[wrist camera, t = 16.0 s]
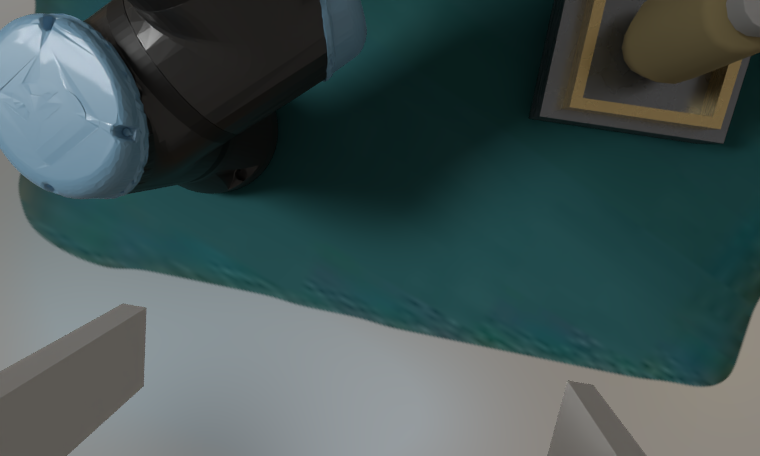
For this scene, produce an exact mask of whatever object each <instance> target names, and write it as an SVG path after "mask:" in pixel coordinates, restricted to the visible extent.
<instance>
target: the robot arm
mask: <svg viewBox="0 0 760 456" xmlns="http://www.w3.org/2000/svg"><path fill="white" fill-rule="evenodd" d="M366 35H367V28H366V21H365V16H364V12H363V8H362V5H361V1H360V0H112V1H111V2H109V3H108V4H107V5H105V6H104V7H103V8H101V9H100V10H99V11H97V12H96V13H95V14H93V15H92V16H91V17H89V18H88V19H86V20H85V21H81V20H79V19H77V18H75V17H73V16H70V15H66V14H42V13H38V14H30V15H26V16H23V17H20V18H17V19H15V20H13V21H11V22H10V23H8V24H7V25H6V26H5V27H4V28H2V29H1V30H0V149H1V150H2V152H3V153H4V155H5V156H6V157H7V159H8V160H9V161H10V162H11V164H12V165H13V166H14V167H15V168H16V169H17V170H18V171H19V172H20V173H21V174H22V175H24V176H25V177H26V178H27V179H29V180H30V181H31V182H33V183H34V184H36V185H38V186H39V187H41V188H43V189H45V190H47V191H49V192H54V193H55V194H59V195H62V196H64V197H68V198H75V199H91V198H99V199H103V198H104V199H110V198H112V199H113V198H117V197H119V196H123V195H126V194H130V193H135V192H141V191H146V190H152V189H157V188H162V187H168V186H173V185H179V186H181V187H183V188H186V189H188V190H191V191H195V192H200V193H210V194H214V193H223V192H228V191H232V190H236V189H239V188H241V187H243V186H246V185H247V184H249V183H251V182H252V181H254V180H255V179H256V178H257V177H258V176H259V175H260V174H261V173H262V172H263V171H264V170H265V168H266V167H267V166H268V164H269V162H270V160H271V158H272V156H273V154H274V151H275V148H276V143H277V137H278V123H277V116H276V110H278V109H279V108H281V107H282V106H284V105H285V104H287V103H289V102H290V101H292V100H293V99H295V98H296V97H298V96H299V95H301V94H303V93H304V92H306V91H307V90H309V89H310V88H312V87H313V86H315V85H317V84H318V83H320V82H321V81H323V82H325V81H327V80H329V78H330V77H332V75H333V73H334V72H335V71H337V70H338V69H339V68H341V67H342V66H344V65H345V64H346V63H348V62H349V61H351V60H352V59H353V58H355V57H356V56H357V55H358V54H359V53H360V52H361V50H362V48H363V46H364V43H365V40H366ZM145 331H146V308H145V307H139V306H133V305H128V304H121V305H120V306H118V307H116V308H114V309H112V310H110V311H109V312H107V313H105V314H104V315H102V316H100V317H98V318H96V319H94V320H92V321H91V322H89V323H87V324H85V325H83V326H82V327H80V328H78V329H76V330H74V331H73V332H71V333H69V334H68V335H65V336H64V337H62V338H60V339H58V340H56V341H55V342H53V343H51V344H49V345H47V346H46V347H44V348H42V349H40V350H38V351H37V352H35V353H33V354H31V355H30V356H28V357H26V358H24V359H22V360H20V361H18V362H17V363H15V364H13V365H11V366H9V367H8V368H6V369H4V370H2V371H1V372H0V456H67V455H68V454H69V453H70V452H71V451H72V450H74V449H75V448H76V447H77V446H78V445H79V444H80V443H81V442H82V441H83V440H84V439H86V438H87V437H88V436H89V435H90V434H91V433H92V432H93V431H95V429H97V428H98V427H99V426H100V425H101V424H102V423H103V422H104V421H105V420H107V419H108V418H109V417H110V416H111V415H112V414H113V413H114V412H115V411H117V410H118V409H119V408H120V407H121V406H122V405H123V404H124V403H125V402H127V401H128V400H129V398H131V397H132V396H133V395H134V394H135V393H136V392H138V391H139V390H140V389H141V388H142V387H143V386H144V358H145ZM548 456H646V455H645V453H644V452H643V450H642V449H641V448H640V447H639V445H638V444H637V442H636V441H635V440H634V439H633V437H632V436H631V434H630V433H629V432H628V431H627V429H626V428H625V427H624V425H623V424H622V423H621V421H620V420H619V419H618V417H617V416H616V415H615V413H614V412H613V411H612V409H611V408H610V407H609V405H608V404H607V403H606V401H605V400H604V399H603V397H602V396H601V395H600V393H599V392H598V391H597V390H596V388H595V387H594V386H593V385H590V384H584V383H578V382H572V381H567V384H566V388H565V392H564V396H563V399H562V403H561V407H560V411H559V414H558V418H557V422H556V425H555V430H554V433H553V437H552V441H551V444H550V448H549V452H548Z"/></svg>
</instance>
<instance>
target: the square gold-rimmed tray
mask: <svg viewBox="0 0 760 456" xmlns="http://www.w3.org/2000/svg"><path fill="white" fill-rule="evenodd" d="M646 1H647V0H554V4H553V8H552V13H551V17H550V22H549V27H548V31H547V36H546V41H545V45H544V50H543V54H542V59H541V64H540V68H539V73H538V78H537V82H536V87H535V92H534V96H533V101H532V105H531V110H530V115H529V119H535V120H541V121H548V122H555V123H562V124H568V125H575V126H582V127H589V128H595V129H602V130H609V131H615V132H622V133H629V134H636V135H642V136H649V137H656V138H663V139H669V140H676V141H683V142H690V143H696V144H699V143H724V140H725V137H726V134H727V131H728V127H729V124H730V121H731V118H732V115H733V111H734V108H735V105H736V102H737V99H738V95H739V92H740V89H741V86H742V83H743V79H744V76H745V73H746V70H747V67H748V63H749V60H750V57H751V56H749V57H747V58H744V59H742V60H739V61H736V62H734V63H731V64H729V65H726V66H724V67H721V68H719V69H716V70H714V71H711V72H709V73H706V74H703V75H701V76H698V77H696V78H693V79H690V80H686V81H683V82H680V83H676V84H670V83H660V82H655V81H652V80H650V79H647V78H645V77H642V76H640V75H639V74H637V73H635V72H633V71H632V70H630V68H629V67H628V65H627V64H626V62H625V61H624V58H623V52H622V44H623V39H624V35H625V33H626V31H627V29H628V28H629V26H630V24H631V22H632V20H633V19H634V17H635V16H636V14H637V12H638V11H639V9H640V8H641V6H642V4H643V3H645V2H646Z"/></svg>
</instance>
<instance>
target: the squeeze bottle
mask: <svg viewBox="0 0 760 456" xmlns="http://www.w3.org/2000/svg"><path fill="white" fill-rule="evenodd" d="M622 52H623V58H624V61H625V62H626V64H627V65H628V67H629V68H630V70H632V71H633V72H635V73H637V74H639V75H640V76H642V77H645V78H647V79H650V80H652V81H655V82H660V83H670V84H676V83H680V82H683V81H686V80H690V79H693V78H696V77H698V76H701V75H703V74H706V73H709V72H711V71H714V70H716V69H719V68H721V67H724V66H726V65H729V64H731V63H734V62H736V61H739V60H742V59H744V58H747V57H749V56H752V55H754V54H757V53H759V52H760V0H647V1H646V2H645V3H643V4H642V6H641V8H640V9H639V11H638V12H637V14H636V16H635V17H634V19H633V20H632V22H631V24H630V26H629V28H628V29H627V31H626V33H625V35H624V39H623V44H622Z"/></svg>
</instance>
